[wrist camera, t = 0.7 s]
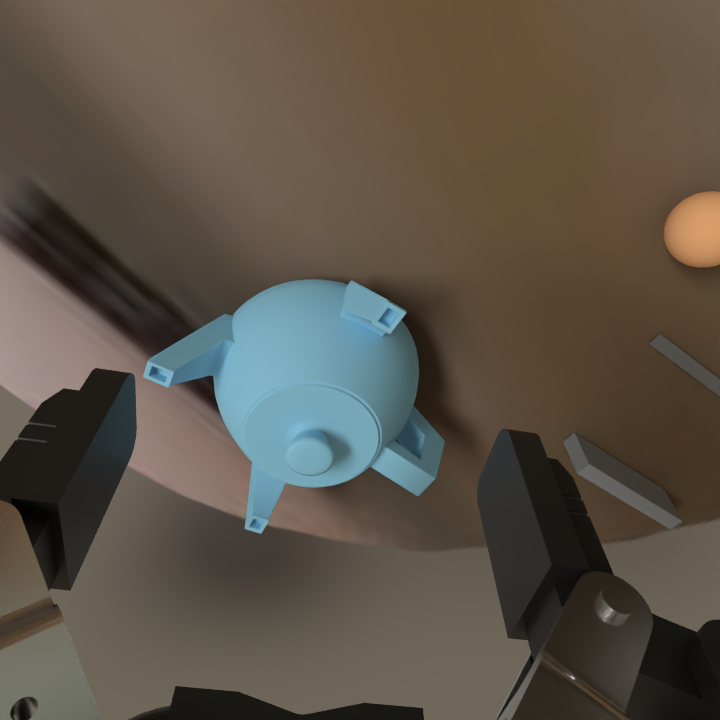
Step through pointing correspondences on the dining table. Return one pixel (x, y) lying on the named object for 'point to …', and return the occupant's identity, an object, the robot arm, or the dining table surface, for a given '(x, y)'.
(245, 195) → the dining table surface
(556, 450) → the dining table surface
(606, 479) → the rail
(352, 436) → the teapot
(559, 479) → the robot arm
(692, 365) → the grey thin rod
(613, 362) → the dining table surface
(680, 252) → the ball
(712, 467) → the dining table surface
